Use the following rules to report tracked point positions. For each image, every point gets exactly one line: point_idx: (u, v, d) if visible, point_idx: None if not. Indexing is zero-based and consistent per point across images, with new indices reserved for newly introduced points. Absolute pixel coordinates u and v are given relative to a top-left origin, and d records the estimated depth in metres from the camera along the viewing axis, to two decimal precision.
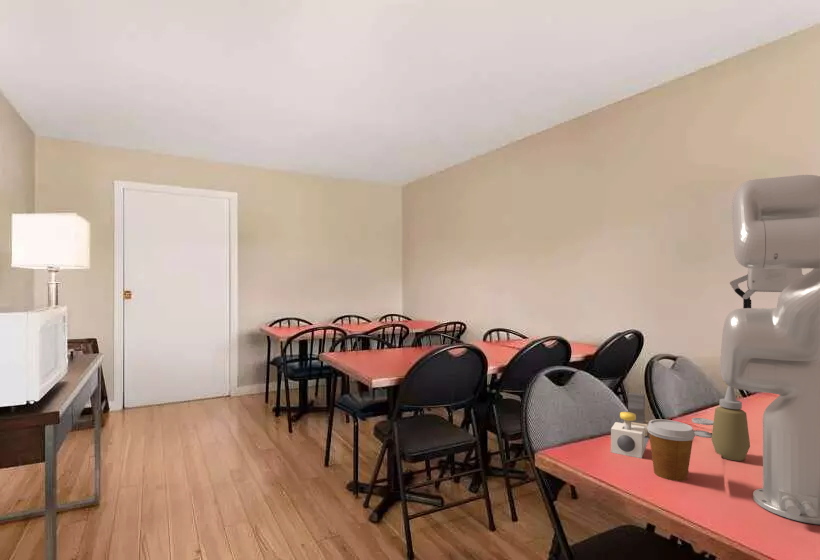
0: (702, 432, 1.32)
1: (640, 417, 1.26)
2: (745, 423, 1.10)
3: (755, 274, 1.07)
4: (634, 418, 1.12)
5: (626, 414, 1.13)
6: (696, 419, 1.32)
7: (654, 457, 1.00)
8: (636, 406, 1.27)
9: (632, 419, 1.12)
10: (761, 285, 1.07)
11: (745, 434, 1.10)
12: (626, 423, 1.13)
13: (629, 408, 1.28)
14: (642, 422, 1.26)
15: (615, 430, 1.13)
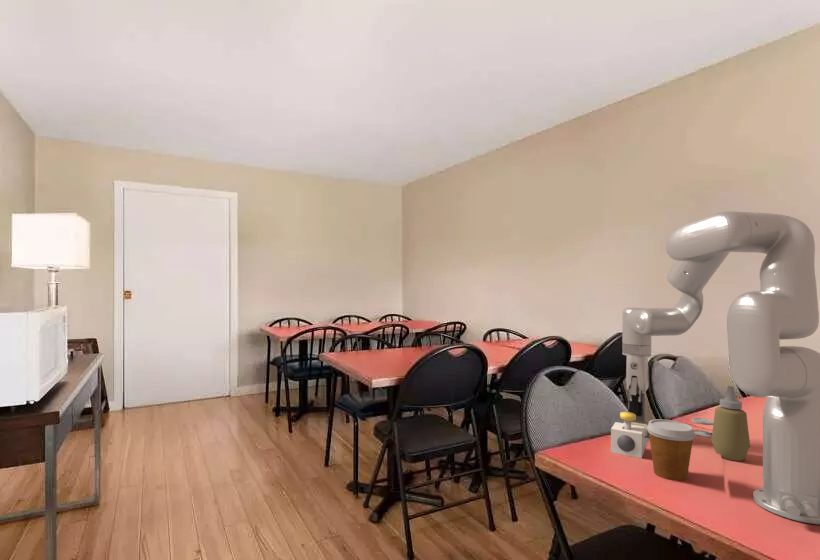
0: (702, 432, 1.32)
1: (640, 417, 1.26)
2: (745, 423, 1.10)
3: (645, 377, 1.24)
4: (634, 418, 1.12)
5: (626, 414, 1.13)
6: (696, 419, 1.32)
7: (654, 457, 1.00)
8: None
9: (632, 419, 1.12)
10: (646, 386, 1.25)
11: (745, 434, 1.10)
12: (626, 423, 1.13)
13: None
14: (642, 422, 1.26)
15: (615, 430, 1.13)
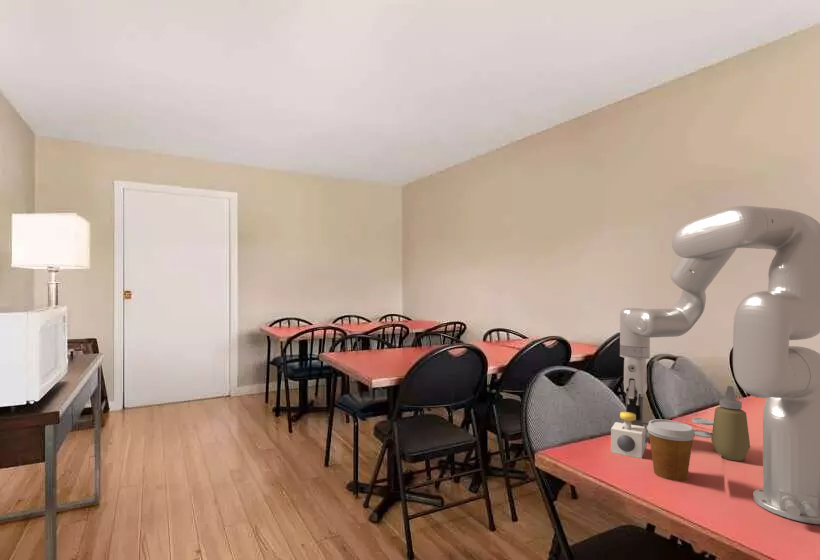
0: (702, 432, 1.32)
1: (639, 421, 1.22)
2: (745, 423, 1.10)
3: (643, 380, 1.20)
4: (634, 418, 1.12)
5: (626, 414, 1.13)
6: (696, 419, 1.32)
7: (654, 457, 1.00)
8: None
9: (632, 419, 1.12)
10: (644, 389, 1.21)
11: (745, 434, 1.10)
12: (626, 423, 1.13)
13: None
14: None
15: (615, 430, 1.13)
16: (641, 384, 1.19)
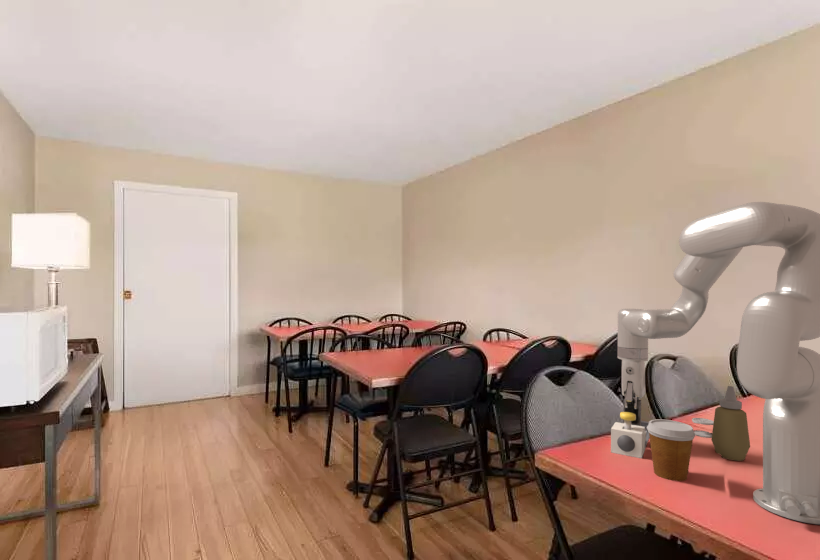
0: (702, 432, 1.32)
1: (637, 425, 1.19)
2: (745, 423, 1.10)
3: (641, 383, 1.16)
4: (634, 418, 1.12)
5: (626, 414, 1.13)
6: (696, 419, 1.32)
7: (654, 457, 1.00)
8: None
9: (632, 419, 1.12)
10: (642, 392, 1.17)
11: (745, 434, 1.10)
12: (626, 423, 1.13)
13: None
14: None
15: (615, 430, 1.13)
16: (639, 387, 1.16)
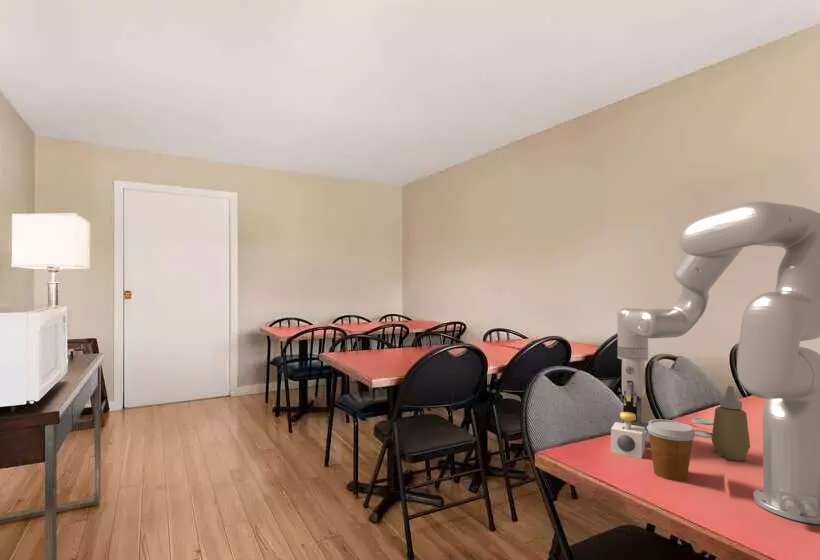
0: (702, 432, 1.32)
1: (637, 425, 1.19)
2: (745, 423, 1.10)
3: (641, 382, 1.16)
4: (634, 418, 1.12)
5: (626, 414, 1.13)
6: (696, 419, 1.32)
7: (654, 457, 1.00)
8: None
9: (632, 419, 1.12)
10: (642, 392, 1.17)
11: (745, 434, 1.10)
12: (626, 423, 1.13)
13: None
14: None
15: (615, 430, 1.13)
16: (639, 387, 1.16)
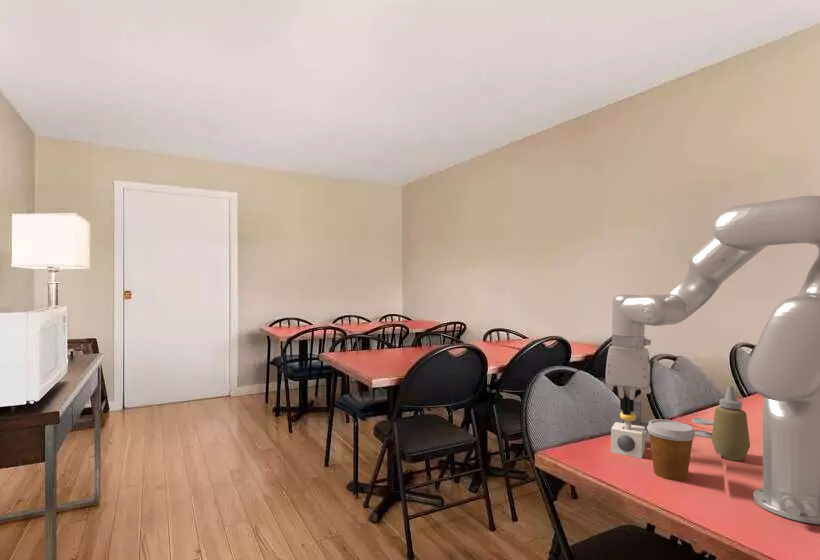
0: (702, 432, 1.32)
1: (637, 425, 1.19)
2: (745, 423, 1.10)
3: None
4: (634, 418, 1.12)
5: (626, 414, 1.13)
6: (696, 419, 1.32)
7: (654, 457, 1.00)
8: None
9: (632, 419, 1.12)
10: None
11: (745, 434, 1.10)
12: (626, 423, 1.13)
13: None
14: None
15: (615, 430, 1.13)
16: None
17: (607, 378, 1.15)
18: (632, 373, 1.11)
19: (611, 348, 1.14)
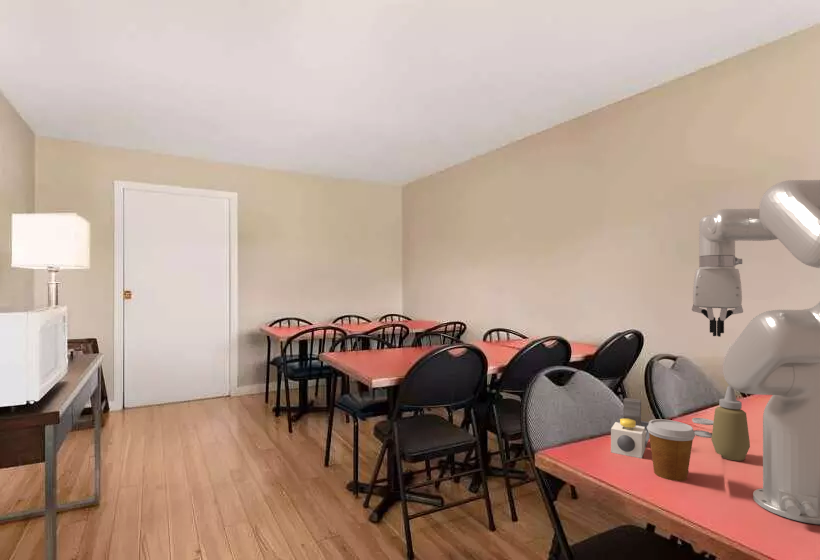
0: (702, 432, 1.32)
1: (637, 425, 1.19)
2: (745, 423, 1.10)
3: None
4: (634, 425, 1.12)
5: (626, 421, 1.13)
6: (696, 419, 1.32)
7: (654, 457, 1.00)
8: (632, 414, 1.20)
9: (632, 426, 1.12)
10: None
11: (745, 434, 1.10)
12: None
13: (624, 415, 1.21)
14: None
15: (615, 430, 1.13)
16: None
17: (695, 300, 1.13)
18: (724, 293, 1.09)
19: (699, 270, 1.13)
